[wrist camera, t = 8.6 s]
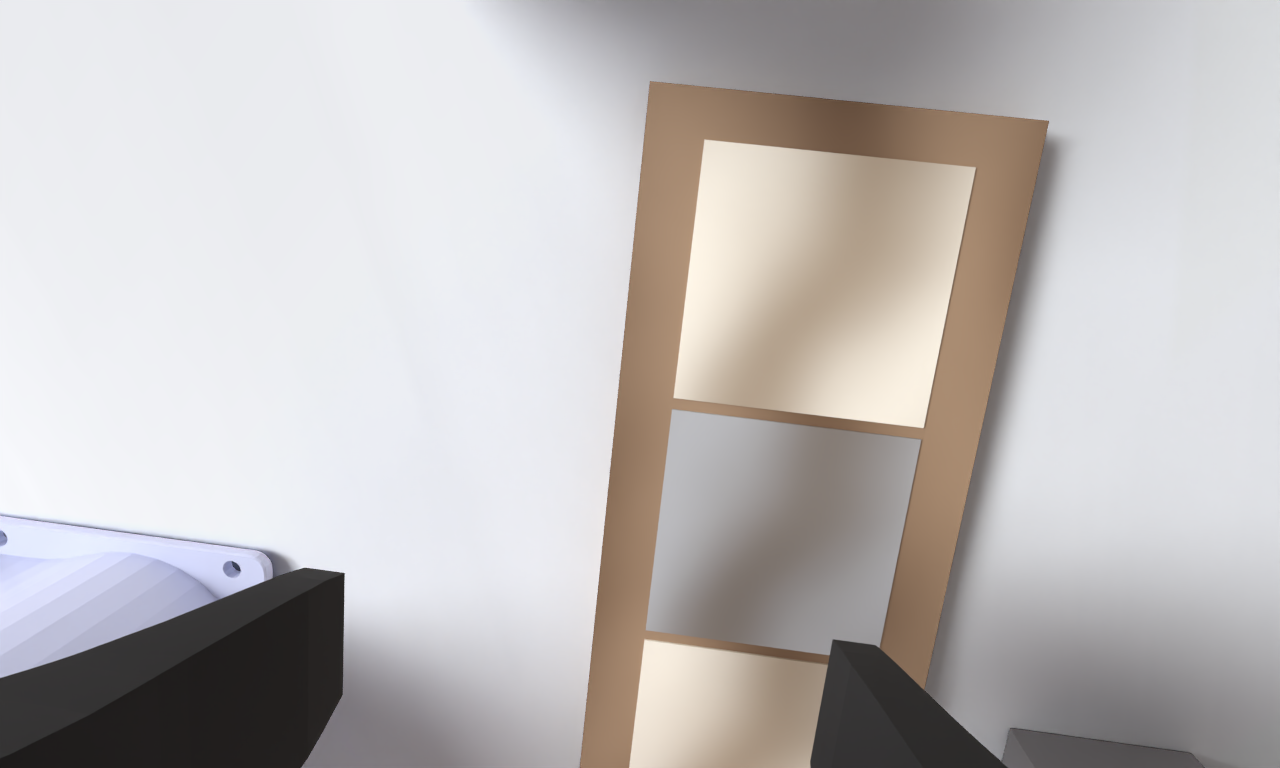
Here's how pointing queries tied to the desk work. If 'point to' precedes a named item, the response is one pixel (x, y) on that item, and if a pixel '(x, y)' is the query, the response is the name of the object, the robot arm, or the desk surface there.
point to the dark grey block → (1086, 753)
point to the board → (793, 408)
